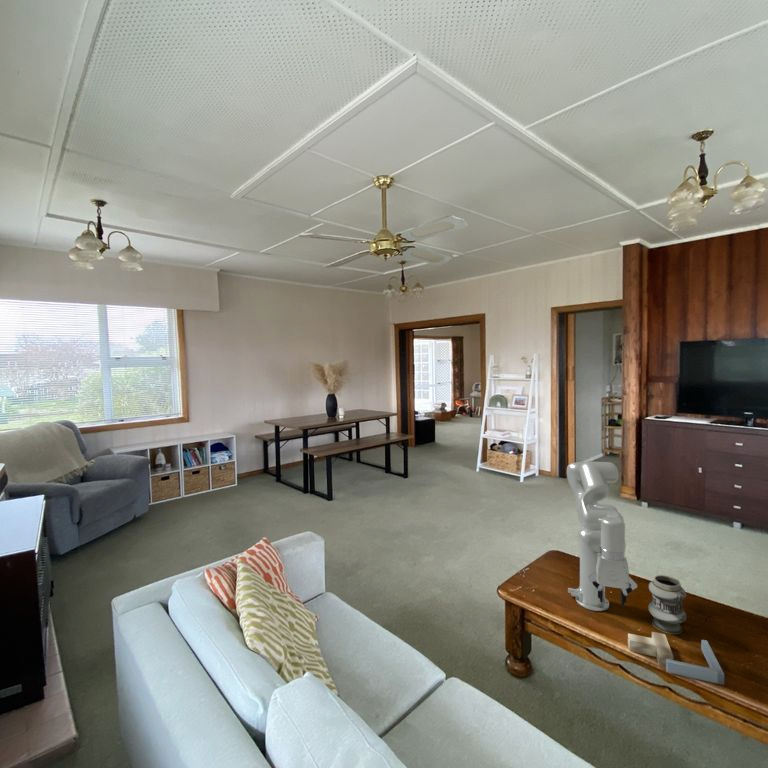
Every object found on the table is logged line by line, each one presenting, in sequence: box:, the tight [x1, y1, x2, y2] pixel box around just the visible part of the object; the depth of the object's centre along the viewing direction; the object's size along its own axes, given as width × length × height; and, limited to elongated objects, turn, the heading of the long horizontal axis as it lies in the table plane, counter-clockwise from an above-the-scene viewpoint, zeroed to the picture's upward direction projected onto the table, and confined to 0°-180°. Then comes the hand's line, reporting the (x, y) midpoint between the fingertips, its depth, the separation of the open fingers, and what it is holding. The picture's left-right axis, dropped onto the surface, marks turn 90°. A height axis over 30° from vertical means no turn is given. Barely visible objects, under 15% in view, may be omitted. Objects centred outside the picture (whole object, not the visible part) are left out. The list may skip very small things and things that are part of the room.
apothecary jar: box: [647, 574, 687, 635], centre depth 160 cm, size 12×12×18 cm
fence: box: [665, 639, 725, 686], centre depth 142 cm, size 15×17×4 cm
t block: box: [627, 631, 674, 667], centre depth 147 cm, size 12×12×4 cm
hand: (611, 601), depth 151 cm, fingers open, 6 cm apart
